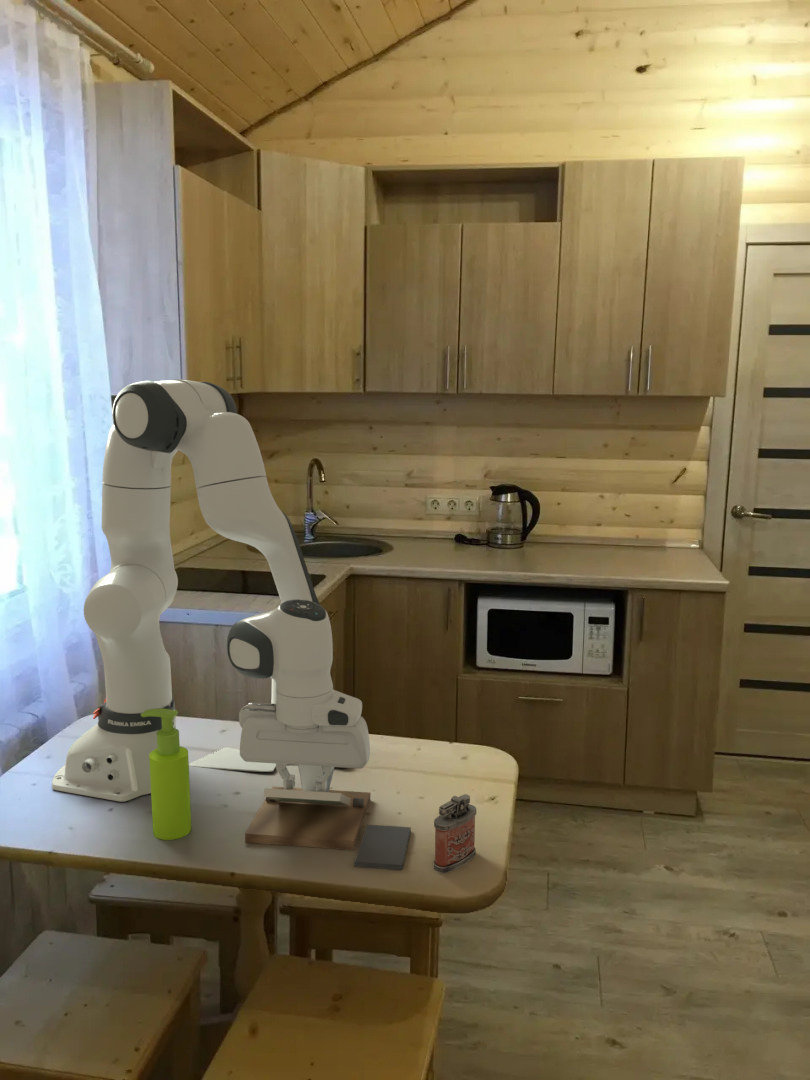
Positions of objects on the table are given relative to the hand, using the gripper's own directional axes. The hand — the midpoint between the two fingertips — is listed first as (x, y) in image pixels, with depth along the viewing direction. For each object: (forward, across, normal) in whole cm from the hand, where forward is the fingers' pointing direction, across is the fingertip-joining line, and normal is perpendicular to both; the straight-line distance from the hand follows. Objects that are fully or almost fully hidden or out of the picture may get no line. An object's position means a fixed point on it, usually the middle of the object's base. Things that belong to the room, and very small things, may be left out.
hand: (305, 788), depth 141 cm
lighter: (+7, +24, -6) cm, 26 cm away
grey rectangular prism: (+3, 0, +10) cm, 11 cm away
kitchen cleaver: (+6, -14, +18) cm, 23 cm away
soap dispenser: (+7, -22, -3) cm, 23 cm away
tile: (+5, 0, +6) cm, 8 cm away
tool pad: (+7, +13, -4) cm, 15 cm away
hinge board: (+7, 0, +3) cm, 8 cm away
